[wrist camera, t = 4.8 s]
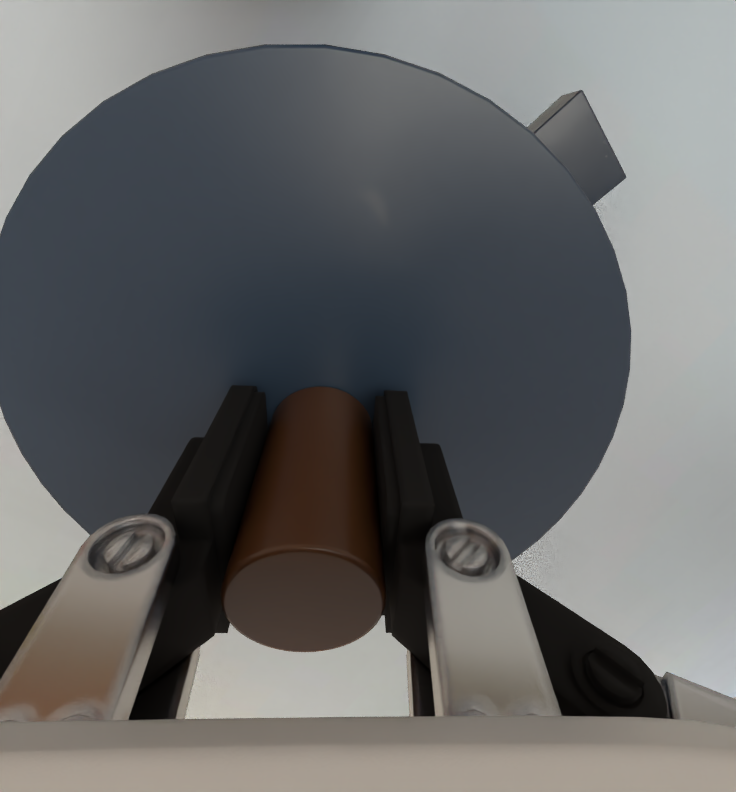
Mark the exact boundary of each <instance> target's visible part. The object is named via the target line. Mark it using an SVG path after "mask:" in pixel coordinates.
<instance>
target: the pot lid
mask: <svg viewBox="0 0 736 792" xmlns="http://www.w3.org/2000/svg"><path fill="white" fill-rule="evenodd" d="M630 350H631V327H630V319H629V310H628V302H627V294H626V289H625V286H624V282H623V279H622V275H621V272H620V268H619V265H618V261H617V258H616V254H615V251H614V248H613V246H612V244H611V242H610V240H609V238H608V236H607V233H606V231H605V229H604V227H603V225H602V223H601V221H600V218H599V216H598V214H597V212H596V210H595V208H594V207H593V205H592V204H591V202H590V201H589V199H588V198H587V196H586V195H585V194H584V192H583V191H582V189H581V188H580V186H579V185H578V183H577V182H576V180H575V179H574V177H573V176H572V174H571V173H570V172H569V170H568V169H567V168H566V167H565V166H564V165H563V164H562V163H561V161H560V160H559V159H558V158H557V157H556V156H555V155H554V154H553V153H552V152H551V151H550V150H549V149H548V148H547V147H546V146H545V145H544V144H543V143H542V141H541V140H540V139H539V138H538V137H537V136H536V135H535V134H534V133H533V132H532V131H530V130H529V129H528V128H526V127H525V126H524V125H522V124H521V123H520V122H519V121H517V120H516V119H515V118H513V117H512V116H511V115H509V114H508V113H507V112H505V111H504V110H503V109H501V108H500V107H499V106H497V105H496V104H495V103H493V102H492V101H491V100H489V99H488V98H486V97H484V96H482V95H480V94H478V93H476V92H474V91H472V90H471V89H469V88H467V87H465V86H463V85H461V84H459V83H457V82H455V81H454V80H452V79H450V78H448V77H446V76H444V75H442V74H440V73H438V72H435V71H432V70H429V69H426V68H423V67H420V66H417V65H414V64H411V63H408V62H405V61H402V60H399V59H396V58H394V57H391V56H388V55H385V54H379V53H373V52H367V51H361V50H355V49H349V48H343V47H337V46H331V45H259V46H254V47H248V48H242V49H236V50H230V51H224V52H218V53H212V54H207V55H204V56H201V57H198V58H195V59H192V60H189V61H187V62H184V63H181V64H178V65H175V66H172V67H170V68H167V69H164V70H161V71H158V72H156V73H153V74H151V75H149V76H147V77H145V78H143V79H142V80H140V81H138V82H136V83H135V84H133V85H131V86H129V87H128V88H126V89H124V90H122V91H121V92H119V93H117V94H115V95H114V96H112V97H110V98H108V99H106V100H105V101H103V102H102V103H101V104H99V105H98V106H97V107H96V108H95V109H93V110H92V111H91V112H90V113H89V114H87V115H86V116H85V117H84V118H83V119H81V120H80V121H79V122H78V123H77V124H76V125H74V126H73V127H72V128H71V129H70V130H68V131H67V132H66V133H65V134H64V135H62V137H61V138H60V139H59V140H58V141H57V143H56V144H55V145H54V146H53V147H52V149H51V150H50V151H49V152H48V153H47V155H46V156H45V157H44V158H43V160H42V161H41V162H40V163H39V164H38V166H37V167H36V168H35V169H34V170H33V172H32V173H31V174H30V175H29V177H28V179H27V181H26V183H25V184H24V186H23V188H22V190H21V192H20V193H19V195H18V197H17V199H16V201H15V202H14V204H13V206H12V208H11V210H10V211H9V213H8V215H7V217H6V219H5V222H4V225H3V228H2V231H1V234H0V407H1V409H2V412H3V415H4V418H5V421H6V423H7V425H8V427H9V429H10V431H11V433H12V435H13V437H14V439H15V441H16V443H17V445H18V447H19V449H20V451H21V453H22V455H23V456H24V458H25V459H26V461H27V462H28V464H29V465H30V467H31V469H32V470H33V472H34V473H35V475H36V476H37V478H38V479H39V481H40V482H41V484H42V485H43V486H44V487H45V488H46V489H47V491H48V492H49V493H50V494H51V495H52V497H53V498H54V499H55V500H56V501H57V502H58V504H59V505H60V506H61V507H62V508H63V510H64V511H65V512H66V513H67V514H69V515H70V516H71V517H72V518H73V519H74V520H75V521H76V522H77V523H78V524H79V525H80V526H81V527H82V528H83V529H84V530H85V531H87V532H88V533H89V534H90V535H92V534H93V533H94V532H95V531H97V530H98V529H99V528H101V527H102V526H104V525H106V524H108V523H110V522H112V521H114V520H116V519H119V518H122V517H125V516H128V515H133V514H141V513H148V512H149V510H150V509H151V507H152V505H153V503H154V502H155V500H156V498H157V496H158V495H159V493H160V491H161V489H162V488H163V486H164V484H165V482H166V481H167V479H168V477H169V475H170V474H171V472H172V470H173V468H174V467H175V465H176V463H177V461H178V460H179V458H180V456H181V454H182V453H183V451H184V449H185V447H186V446H187V444H188V442H189V441H190V440H191V438H194V437H205V435H206V433H207V431H208V429H209V427H210V425H211V423H212V422H213V420H214V418H215V416H216V414H217V412H218V410H219V408H220V406H221V404H222V402H223V401H224V399H225V397H226V395H227V393H228V391H229V389H230V387H231V386H232V385H242V386H256V387H257V390H258V392H265V395H266V408H267V424H268V433H267V436H266V440H265V443H264V446H263V449H262V453H261V456H260V459H259V463H258V466H257V469H256V473H255V476H254V479H253V483H252V486H251V489H250V493H249V496H248V499H247V503H246V506H245V509H244V513H243V516H242V519H241V523H240V526H239V529H238V533H237V536H236V539H235V543H234V546H233V549H232V553H231V556H230V559H229V563H228V566H227V569H226V573H225V576H224V579H223V582H222V586H221V592H220V596H221V604H222V608H223V611H224V613H225V616H226V618H227V619H228V620H229V622H230V623H231V624H232V625H233V626H234V627H235V628H236V630H238V631H239V632H240V633H242V634H243V635H244V636H246V637H248V638H249V639H251V640H253V641H255V642H257V643H260V644H262V645H265V646H268V647H271V648H275V649H280V650H285V651H293V652H316V651H324V650H329V649H334V648H338V647H341V646H344V645H347V644H349V643H351V642H353V641H355V640H357V639H359V638H361V637H362V636H364V635H365V634H367V633H368V632H369V631H370V630H371V629H372V628H373V627H374V626H375V625H376V624H377V622H378V621H379V619H380V618H381V615H382V613H383V611H384V608H385V604H386V585H385V573H384V562H383V556H382V543H381V531H380V519H379V507H378V495H377V483H376V470H375V458H374V446H373V434H372V433H373V420H374V407H375V397H376V396H383V395H384V390H391V391H407V393H408V397H409V401H410V405H411V409H412V414H413V418H414V422H415V426H416V430H417V434H418V438H419V442H420V443H436V444H439V445H440V447H441V450H442V453H443V456H444V459H445V462H446V465H447V469H448V472H449V475H450V478H451V481H452V485H453V488H454V491H455V494H456V497H457V500H458V504H459V507H460V510H461V513H462V516H463V519H468V520H473V521H475V522H478V523H480V524H483V525H485V526H486V527H488V528H489V529H491V530H492V531H494V532H495V533H496V534H497V535H498V536H499V537H500V538H501V539H502V540H503V541H504V543H505V545H506V547H507V549H508V551H509V554H510V557H511V560H513V559H515V558H516V557H517V556H519V555H520V554H521V553H523V552H524V551H525V550H526V549H528V548H529V547H530V546H532V545H533V544H534V543H535V542H537V541H538V540H539V539H540V538H541V537H542V536H543V535H544V534H545V533H546V532H547V531H548V530H550V529H551V528H552V527H553V526H554V525H555V524H556V523H557V522H558V521H559V520H560V519H561V518H562V517H563V515H564V514H565V513H566V512H567V511H568V509H569V508H570V507H571V506H572V504H573V503H574V502H575V501H576V500H577V498H578V497H579V496H580V495H581V493H582V492H583V490H584V489H585V487H586V486H587V484H588V483H589V481H590V480H591V478H592V476H593V475H594V473H595V472H596V470H597V469H598V467H599V465H600V463H601V461H602V459H603V457H604V455H605V453H606V450H607V448H608V446H609V444H610V442H611V440H612V438H613V435H614V432H615V429H616V426H617V423H618V420H619V417H620V414H621V411H622V408H623V405H624V399H625V394H626V388H627V383H628V377H629V371H630Z"/></svg>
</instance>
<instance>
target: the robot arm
mask: <svg viewBox="0 0 736 792" xmlns="http://www.w3.org/2000/svg"><path fill="white" fill-rule="evenodd" d="M267 433H268V424H267V408H266V395H265V392H258V390H257V387H256V386H242V385H232V386H231V387H230V389H229V391H228V393H227V395H226V397H225V399H224V401H223V402H222V404H221V406H220V408H219V410H218V412H217V414H216V416H215V418H214V420H213V422H212V423H211V425H210V427H209V429H208V431H207V433H206V435H205V437H194V438H191V440H190V441H189V442H188V444H187V446H186V447H185V449H184V451H183V453H182V454H181V456H180V458H179V460H178V461H177V463H176V465H175V467H174V468H173V470H172V472H171V474H170V475H169V477H168V479H167V481H166V482H165V484H164V486H163V488H162V489H161V491H160V493H159V495H158V496H157V498H156V500H155V502H154V503H153V505H152V507H151V509H150V510H149V512H148V513H141V514H133V515H128V516H125V517H122V518H119V519H116V520H114V521H112V522H110V523H108V524H106V525H104V526H102V527H101V528H99V529H98V530H97V531H95V532H94V533H93V534H92V535H90V536H89V538H88V539H87V540H86V541H85V542H84V544H83V545H82V546H81V548H80V549H79V551H78V553H77V554H76V556H75V558H74V559H73V561H72V562H71V564H70V566H69V567H68V569H67V571H66V572H65V574H64V576H63V577H62V578H61V579H59V580H57V581H55V582H53V583H51V584H50V585H48V586H46V587H44V588H42V589H40V590H38V591H36V592H34V593H32V594H30V595H28V596H26V597H25V598H23V599H21V600H19V601H17V602H15V603H13V604H11V605H9V606H7V607H5V608H3V609H2V610H0V792H736V700H735V699H733V698H731V697H728V696H726V695H723V694H721V693H718V692H716V691H713V690H711V689H708V688H706V687H703V686H701V685H698V684H696V683H693V682H691V681H688V680H686V679H683V678H681V677H678V676H676V675H673V674H671V673H668V672H666V673H665V675H664V676H663V678H662V677H659V676H657V675H654V673H653V672H652V671H651V670H650V668H649V667H648V666H647V665H646V664H645V663H644V662H643V661H642V659H641V658H640V657H639V656H637V655H636V654H635V653H634V652H632V651H631V650H630V649H629V648H627V647H626V646H625V645H623V644H622V643H620V642H619V641H617V640H616V639H614V638H612V637H611V636H609V635H608V634H606V633H605V632H603V631H602V630H600V629H599V628H597V627H596V626H594V625H593V624H591V623H589V622H588V621H586V620H585V619H583V618H582V617H580V616H579V615H577V614H576V613H574V612H573V611H571V610H570V609H568V608H566V607H565V606H563V605H562V604H560V603H559V602H557V601H556V600H554V599H553V598H551V597H550V596H548V595H547V594H545V593H543V592H542V591H540V590H539V589H537V588H536V587H534V586H533V585H531V584H530V583H528V582H527V581H525V580H524V579H522V578H520V577H519V576H517V575H516V573H515V570H514V566H513V563H512V560H511V557H510V554H509V551H508V549H507V547H506V545H505V543H504V541H503V540H502V539H501V538H500V537H499V536H498V535H497V534H496V533H495V532H494V531H492V530H491V529H489V528H488V527H486V526H485V525H483V524H480V523H478V522H475V521H473V520H468V519H463V516H462V513H461V510H460V507H459V504H458V500H457V497H456V494H455V491H454V488H453V485H452V481H451V478H450V475H449V472H448V469H447V465H446V462H445V459H444V456H443V453H442V450H441V447H440V445H439V444H436V443H420V442H419V438H418V434H417V430H416V426H415V422H414V418H413V414H412V409H411V405H410V401H409V397H408V393H407V391H391V390H384V395H383V396H376V397H375V407H374V420H373V433H372V434H373V446H374V458H375V470H376V483H377V495H378V507H379V519H380V531H381V543H382V556H383V562H384V573H385V585H386V604H385V608H384V611H383V613H382V615H385V626H386V633H392V636H393V637H394V638H396V639H397V640H398V641H399V642H400V643H401V644H402V645H403V646H404V647H406V648H407V655H406V657H407V677H408V698H409V717H319V718H237V719H185V715H186V711H187V707H188V702H189V698H190V694H191V690H192V686H193V681H194V677H195V673H196V669H197V664H198V660H199V656H200V646H201V645H202V644H204V643H205V642H206V641H208V640H209V639H210V638H212V637H213V636H214V634H215V633H227V632H228V628H229V625H230V622H229V620H228V619H227V618H226V616H225V613H224V611H223V608H222V604H221V596H220V592H221V586H222V582H223V579H224V576H225V573H226V569H227V566H228V563H229V559H230V556H231V553H232V549H233V546H234V543H235V539H236V536H237V533H238V529H239V526H240V523H241V519H242V516H243V513H244V509H245V506H246V503H247V499H248V496H249V493H250V489H251V486H252V483H253V479H254V476H255V473H256V469H257V466H258V463H259V459H260V456H261V453H262V449H263V446H264V443H265V440H266V436H267Z"/></svg>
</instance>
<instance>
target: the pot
mask: <svg viewBox="0 0 736 792" xmlns="http://www.w3.org/2000/svg"><path fill="white" fill-rule="evenodd" d="M527 128H528V129H529V130H530V131H532V132H533V133H534V134H535V135H536V136H537V137H538V138H539V139H540V140H541V141H542V143H543V144H544V145H545V146H546V147H547V148H548V149H549V150H550V151H551V152H552V153H553V154H554V155H555V156H556V157H557V158H558V159H559V160H560V161H561V163H562V164H563V165H564V166H565V167H566V168H567V169H568V170H569V172H570V173H571V174H572V176H573V177H574V179H575V180H576V182H577V183H578V185H579V186H580V188H581V189H582V191H583V192H584V194H585V195H586V196H587V198H588V199H589V201H590V202H591V204H592V205H593V204H595V203H596V202H597V201H598V200H600V199H601V198H602V197H603V196H604V195H606V194H607V193H608V192H609V191H611V190H612V189H613V188H614V187H615V186H617V185H618V184H619V183H620V182H622V181H623V180H624V179H625V178H626V175H625V173H624V171H623V169H622V167H621V165H620V163H619V161H618V159H617V157H616V155H615V153H614V151H613V150H612V148H611V146H610V144H609V142H608V140H607V138H606V136H605V134H604V132H603V130H602V128H601V126H600V124H599V122H598V120H597V118H596V116H595V114H594V112H593V110H592V108H591V106H590V104H589V102H588V100H587V98H586V96H585V94H584V92H583V91H582V90H579V91H576V92H573V93H569V94H566V95H563V96H561V97H560V98H559V99H558V100H557V101H556V102H554V103H553V104H552V105H551V106H550V107H549V108H548V109H547V110H546V111H545V112H544V113H542V114H541V115H540V116H539V117H538V118H537V119H536V120H535V121H534V122H533V123H532V124H530V125H529V126H528V127H527Z"/></svg>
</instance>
